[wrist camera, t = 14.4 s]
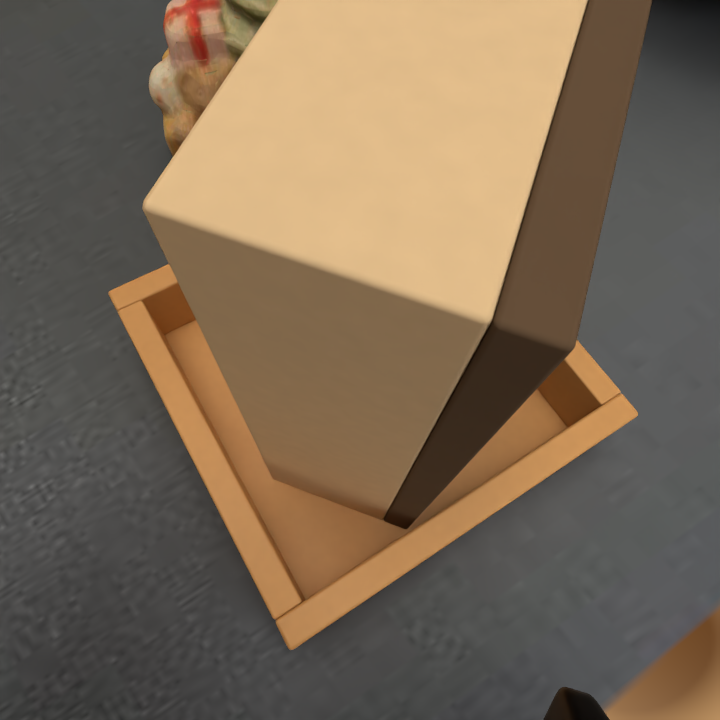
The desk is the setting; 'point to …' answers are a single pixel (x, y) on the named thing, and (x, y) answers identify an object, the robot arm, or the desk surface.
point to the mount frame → (321, 516)
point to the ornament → (200, 57)
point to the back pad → (398, 227)
